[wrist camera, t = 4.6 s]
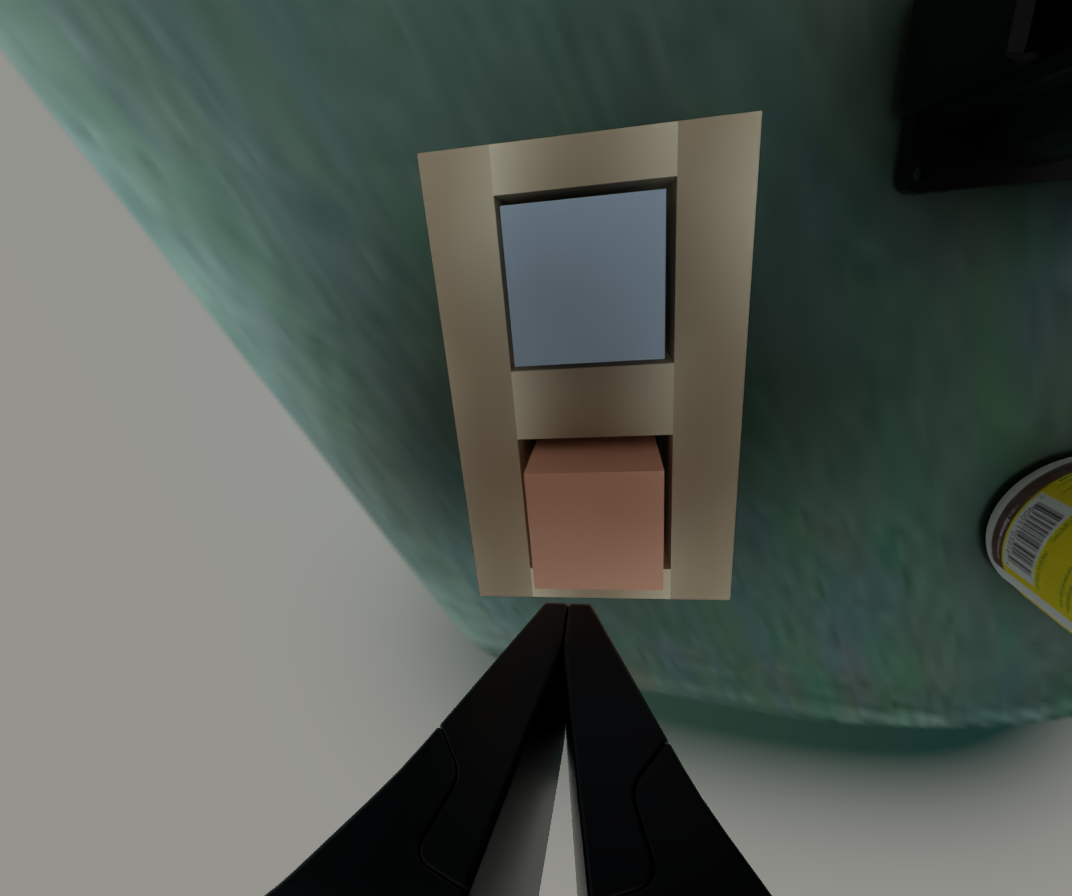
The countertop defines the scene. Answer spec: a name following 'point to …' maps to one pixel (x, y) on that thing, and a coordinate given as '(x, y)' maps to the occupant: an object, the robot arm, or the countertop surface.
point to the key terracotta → (596, 513)
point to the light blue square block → (586, 278)
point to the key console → (603, 387)
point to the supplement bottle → (1037, 539)
